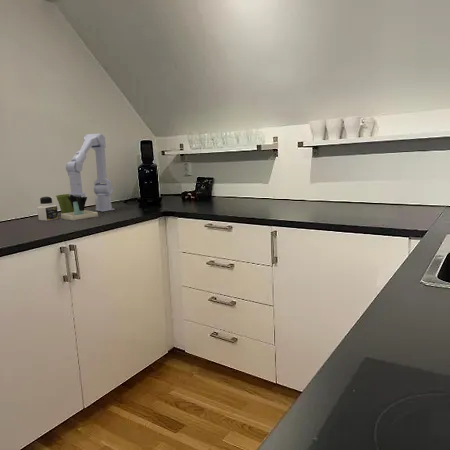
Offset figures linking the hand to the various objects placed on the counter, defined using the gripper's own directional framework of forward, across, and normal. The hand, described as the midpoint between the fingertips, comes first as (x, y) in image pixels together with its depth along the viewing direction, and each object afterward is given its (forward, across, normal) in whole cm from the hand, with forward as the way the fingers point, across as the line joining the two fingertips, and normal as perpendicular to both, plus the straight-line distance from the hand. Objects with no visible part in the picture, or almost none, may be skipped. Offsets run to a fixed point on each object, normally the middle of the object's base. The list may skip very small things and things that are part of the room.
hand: (78, 210), depth 236 cm
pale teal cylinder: (+3, 0, 0) cm, 4 cm away
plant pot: (+4, -17, +2) cm, 18 cm away
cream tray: (+4, 0, 0) cm, 4 cm away
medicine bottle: (+4, -11, -12) cm, 17 cm away
